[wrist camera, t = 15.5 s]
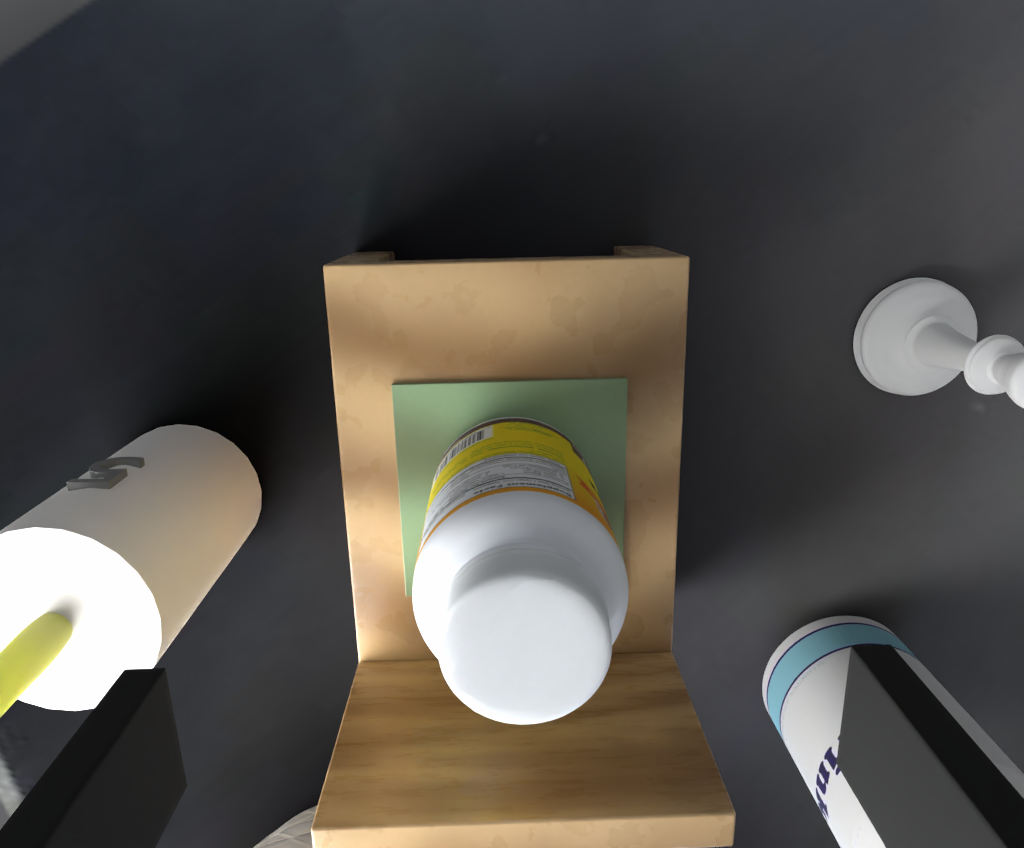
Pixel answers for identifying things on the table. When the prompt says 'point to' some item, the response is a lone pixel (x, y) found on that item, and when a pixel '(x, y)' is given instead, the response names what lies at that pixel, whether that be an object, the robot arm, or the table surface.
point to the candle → (118, 564)
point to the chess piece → (933, 343)
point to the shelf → (399, 524)
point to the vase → (292, 832)
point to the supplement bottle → (518, 573)
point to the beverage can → (818, 714)
